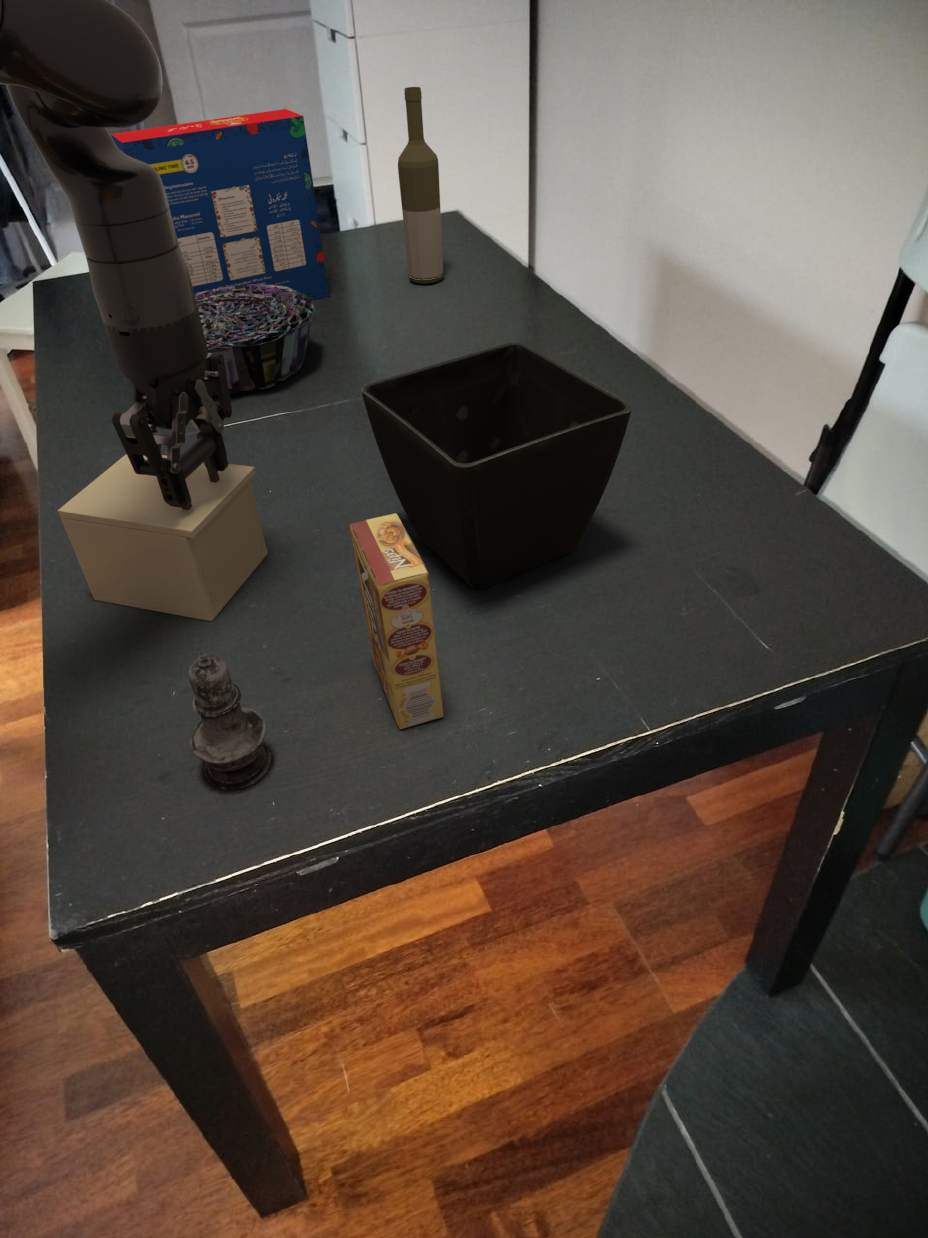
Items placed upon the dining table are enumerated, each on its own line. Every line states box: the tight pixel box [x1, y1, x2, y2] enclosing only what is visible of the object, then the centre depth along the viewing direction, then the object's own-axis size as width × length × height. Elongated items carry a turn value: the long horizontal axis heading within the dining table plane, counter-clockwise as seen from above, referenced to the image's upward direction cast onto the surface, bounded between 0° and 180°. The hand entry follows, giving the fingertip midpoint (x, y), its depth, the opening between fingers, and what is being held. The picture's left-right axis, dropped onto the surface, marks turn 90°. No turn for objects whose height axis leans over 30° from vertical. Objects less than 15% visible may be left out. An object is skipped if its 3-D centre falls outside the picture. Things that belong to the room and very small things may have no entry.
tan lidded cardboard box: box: [60, 479, 269, 622], centre depth 86 cm, size 14×12×10 cm
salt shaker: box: [187, 652, 272, 791], centre depth 65 cm, size 6×6×12 cm
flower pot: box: [360, 341, 633, 589], centre depth 85 cm, size 19×19×17 cm
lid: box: [57, 435, 257, 538], centre depth 81 cm, size 14×12×5 cm
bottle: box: [397, 86, 444, 285], centre depth 146 cm, size 7×7×30 cm
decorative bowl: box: [194, 284, 316, 397], centre depth 126 cm, size 26×28×10 cm
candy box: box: [349, 512, 444, 730], centre depth 69 cm, size 9×4×15 cm, turn 20°
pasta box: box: [110, 108, 330, 300], centre depth 141 cm, size 28×8×28 cm, turn 119°
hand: (199, 486), depth 80 cm, fingers closed on lid, 6 cm apart
